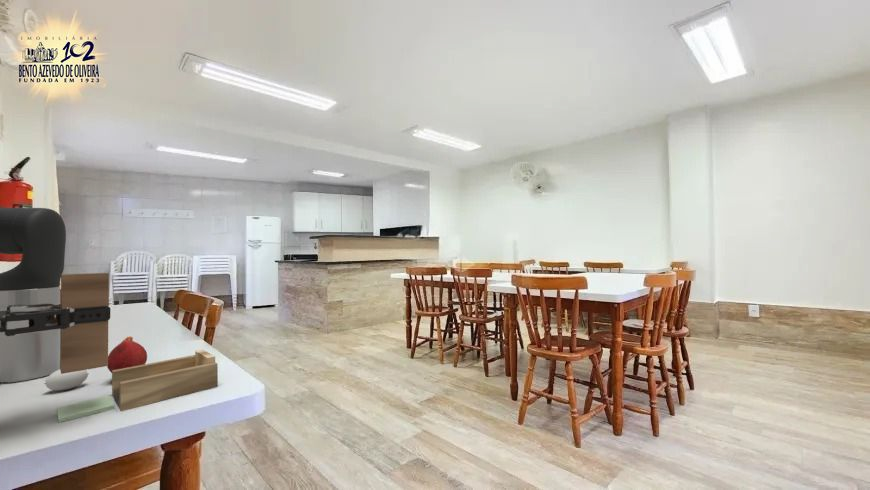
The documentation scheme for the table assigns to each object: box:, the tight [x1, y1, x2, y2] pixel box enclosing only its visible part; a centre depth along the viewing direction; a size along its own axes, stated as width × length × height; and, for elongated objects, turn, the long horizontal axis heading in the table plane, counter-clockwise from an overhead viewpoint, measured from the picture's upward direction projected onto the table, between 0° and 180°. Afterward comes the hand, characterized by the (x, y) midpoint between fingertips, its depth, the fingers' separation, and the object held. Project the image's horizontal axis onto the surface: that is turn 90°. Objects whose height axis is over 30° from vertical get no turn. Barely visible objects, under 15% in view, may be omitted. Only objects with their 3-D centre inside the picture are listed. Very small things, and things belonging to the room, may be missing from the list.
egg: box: [43, 369, 90, 392], centre depth 65 cm, size 4×6×4 cm, turn 151°
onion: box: [106, 335, 148, 374], centre depth 70 cm, size 6×6×8 cm
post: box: [60, 272, 110, 374], centre depth 56 cm, size 5×5×14 cm
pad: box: [56, 395, 116, 423], centre depth 56 cm, size 6×6×1 cm
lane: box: [111, 349, 219, 412], centre depth 63 cm, size 10×13×5 cm
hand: (107, 311), depth 58 cm, fingers closed on post, 5 cm apart
